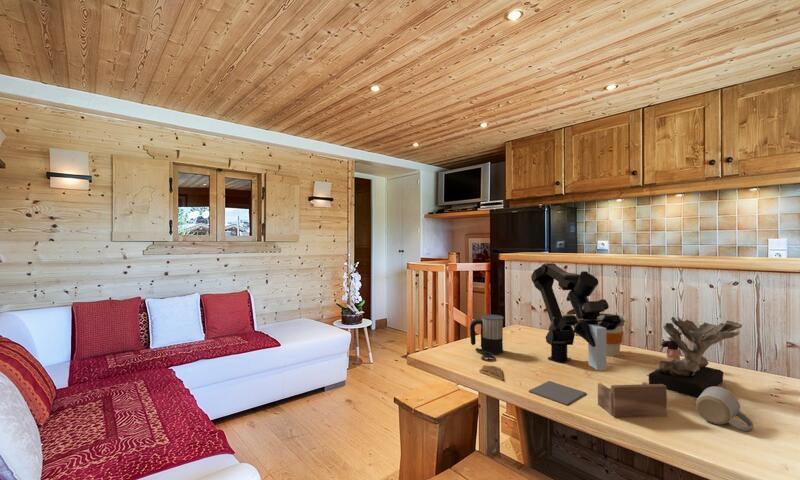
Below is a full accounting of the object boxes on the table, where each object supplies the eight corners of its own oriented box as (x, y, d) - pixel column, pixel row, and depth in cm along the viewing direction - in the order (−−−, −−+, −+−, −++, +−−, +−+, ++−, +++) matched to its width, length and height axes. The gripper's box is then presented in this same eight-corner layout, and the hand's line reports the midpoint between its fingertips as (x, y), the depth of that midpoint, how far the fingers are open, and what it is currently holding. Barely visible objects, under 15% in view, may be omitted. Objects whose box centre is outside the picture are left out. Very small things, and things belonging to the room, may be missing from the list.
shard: (502, 382, 121) (502, 377, 121) (479, 380, 122) (479, 375, 122) (501, 371, 131) (501, 366, 131) (479, 369, 133) (479, 364, 133)
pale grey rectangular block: (588, 364, 118) (588, 324, 118) (597, 364, 118) (597, 324, 118) (597, 370, 113) (596, 328, 113) (606, 369, 113) (606, 328, 113)
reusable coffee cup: (626, 351, 150) (626, 315, 150) (621, 359, 141) (620, 321, 141) (593, 346, 159) (593, 312, 159) (585, 353, 149) (585, 316, 149)
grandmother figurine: (683, 365, 134) (683, 331, 134) (686, 368, 130) (686, 333, 130) (658, 362, 137) (658, 329, 137) (661, 365, 134) (660, 331, 134)
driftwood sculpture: (677, 368, 131) (677, 309, 131) (754, 386, 114) (753, 318, 114) (646, 384, 117) (645, 317, 117) (728, 408, 100) (727, 330, 100)
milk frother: (498, 347, 158) (498, 313, 158) (514, 359, 142) (514, 321, 142) (467, 349, 156) (466, 314, 156) (479, 361, 140) (479, 323, 140)
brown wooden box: (597, 404, 103) (597, 376, 103) (646, 403, 104) (645, 375, 104) (614, 417, 95) (614, 387, 95) (666, 416, 96) (666, 386, 96)
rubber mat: (549, 382, 120) (549, 380, 120) (586, 393, 110) (586, 392, 110) (528, 391, 112) (528, 390, 112) (566, 405, 103) (566, 404, 103)
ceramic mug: (693, 419, 94) (693, 389, 94) (702, 409, 99) (703, 382, 99) (749, 437, 86) (750, 405, 86) (756, 426, 91) (756, 395, 91)
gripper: (562, 291, 119) (579, 333, 108) (618, 290, 120) (641, 332, 109) (551, 310, 127) (567, 351, 116) (604, 309, 128) (624, 350, 117)
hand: (599, 346), depth 114 cm, fingers closed on pale grey rectangular block, 3 cm apart
